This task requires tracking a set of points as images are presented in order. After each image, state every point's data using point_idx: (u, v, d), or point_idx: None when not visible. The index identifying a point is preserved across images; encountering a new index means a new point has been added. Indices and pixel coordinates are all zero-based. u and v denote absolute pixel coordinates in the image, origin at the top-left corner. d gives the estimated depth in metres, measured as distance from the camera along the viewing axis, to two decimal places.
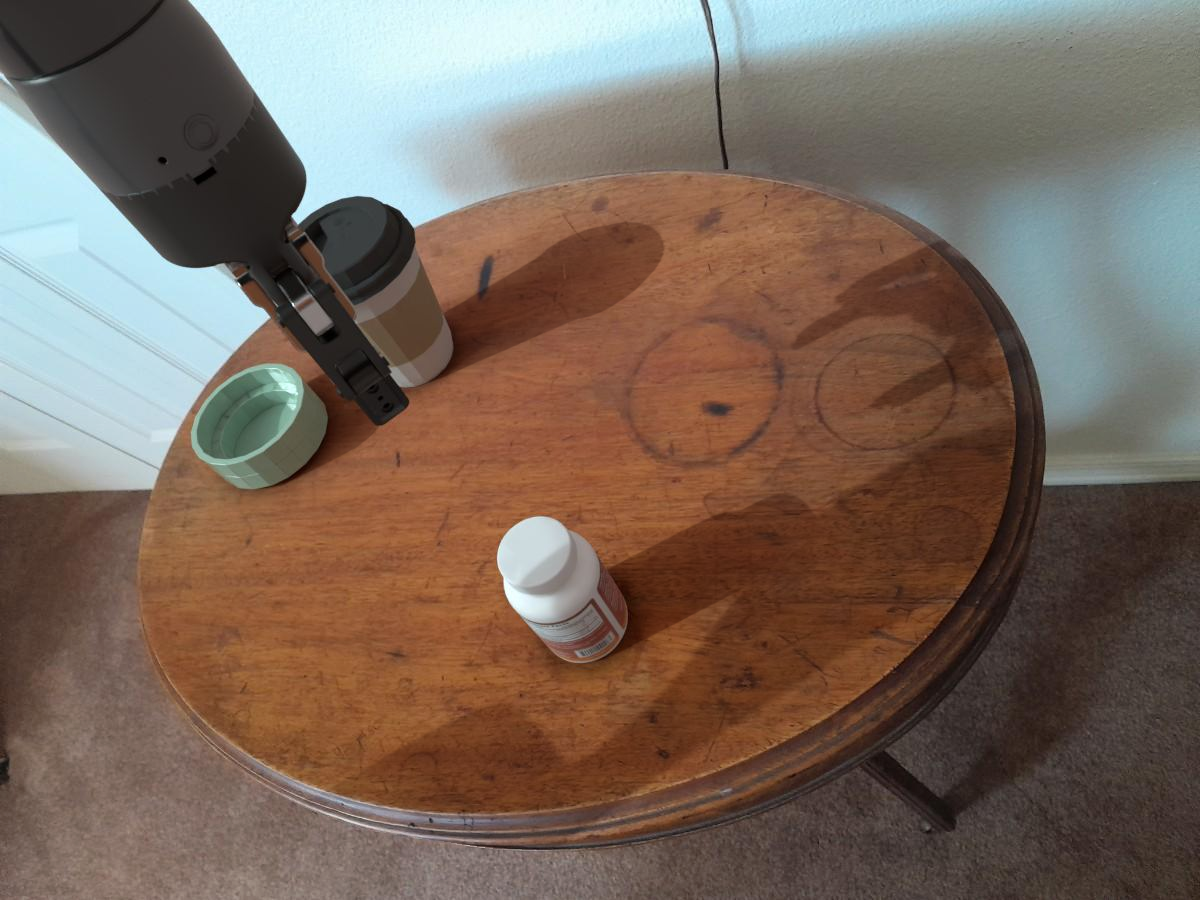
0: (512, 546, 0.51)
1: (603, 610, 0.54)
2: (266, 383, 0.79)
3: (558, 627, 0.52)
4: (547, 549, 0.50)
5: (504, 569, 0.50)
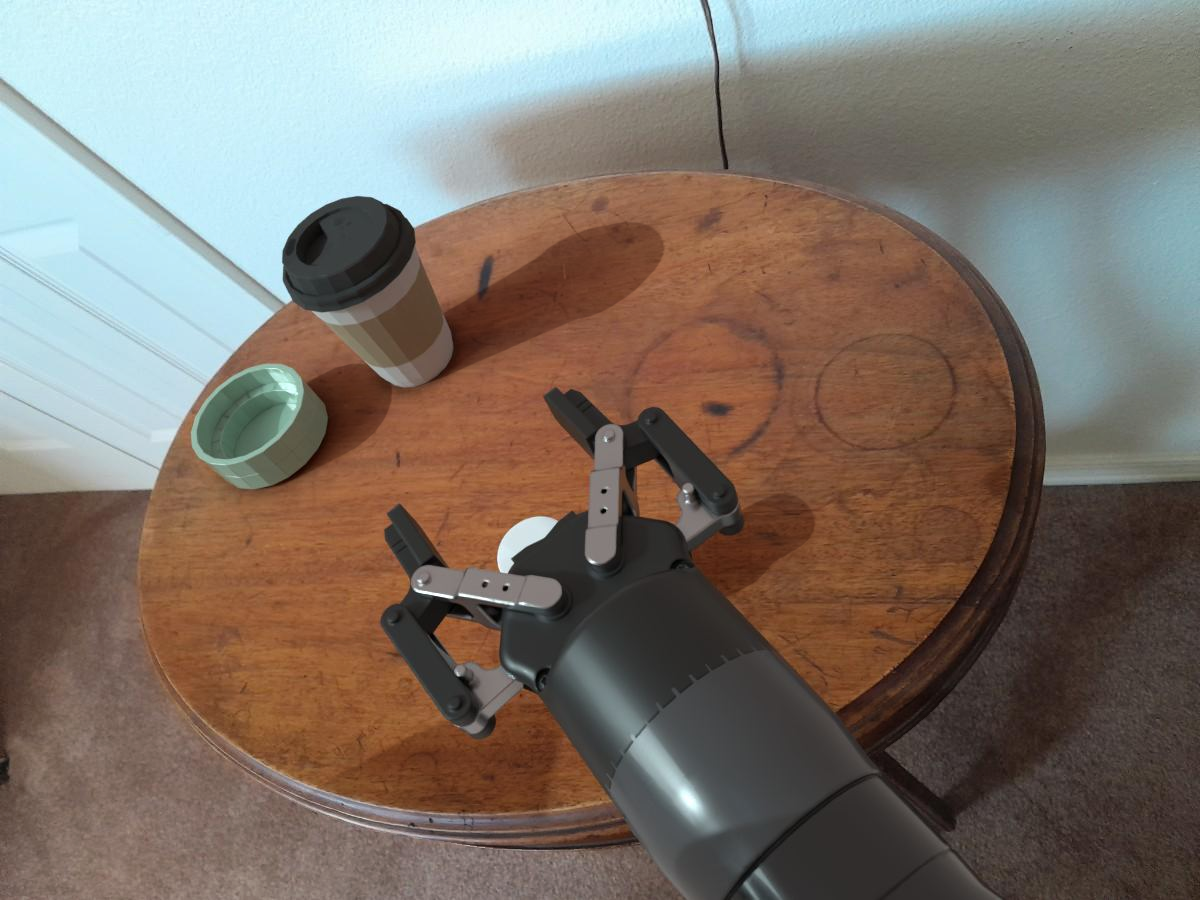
0: (512, 546, 0.51)
1: None
2: (266, 383, 0.79)
3: None
4: None
5: (504, 569, 0.50)
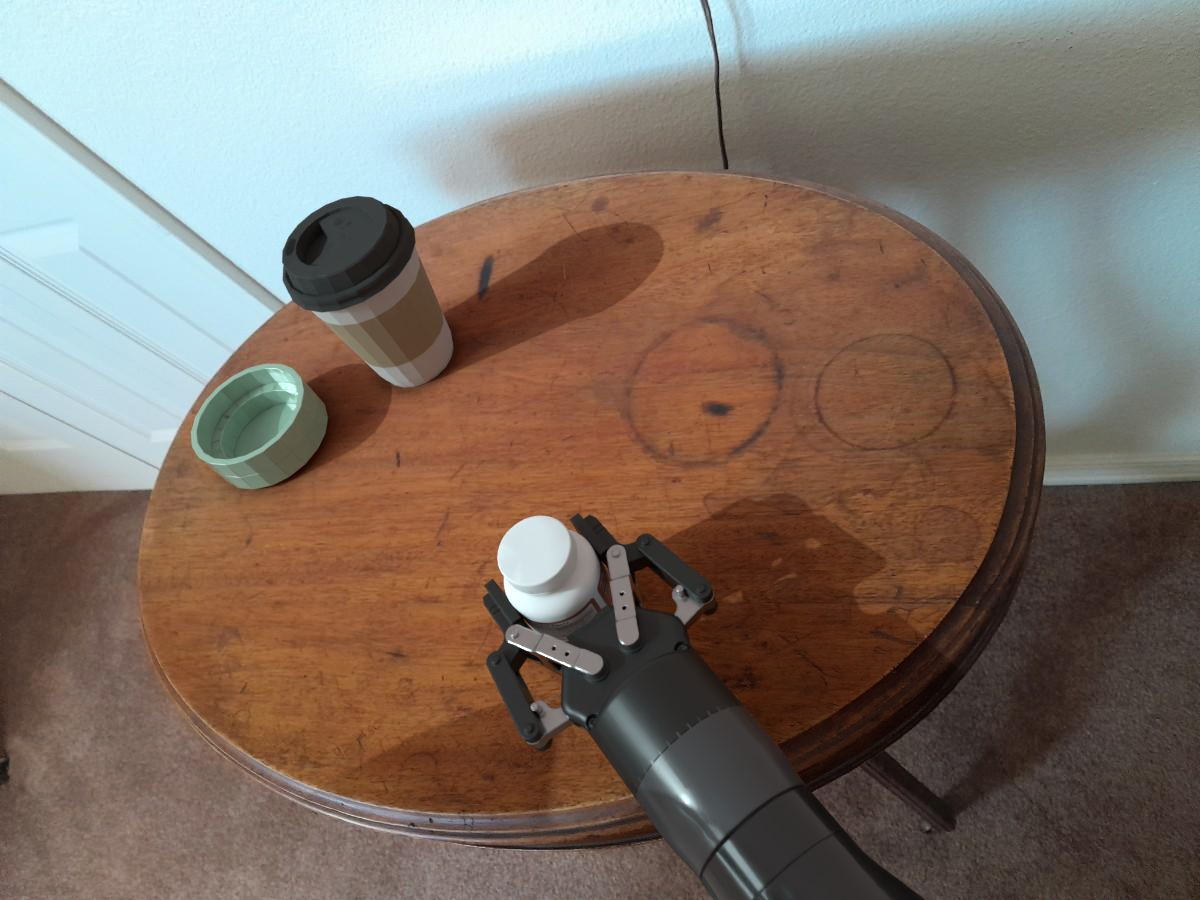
0: (512, 545, 0.51)
1: None
2: (266, 383, 0.79)
3: (558, 626, 0.52)
4: (547, 549, 0.50)
5: (504, 568, 0.50)
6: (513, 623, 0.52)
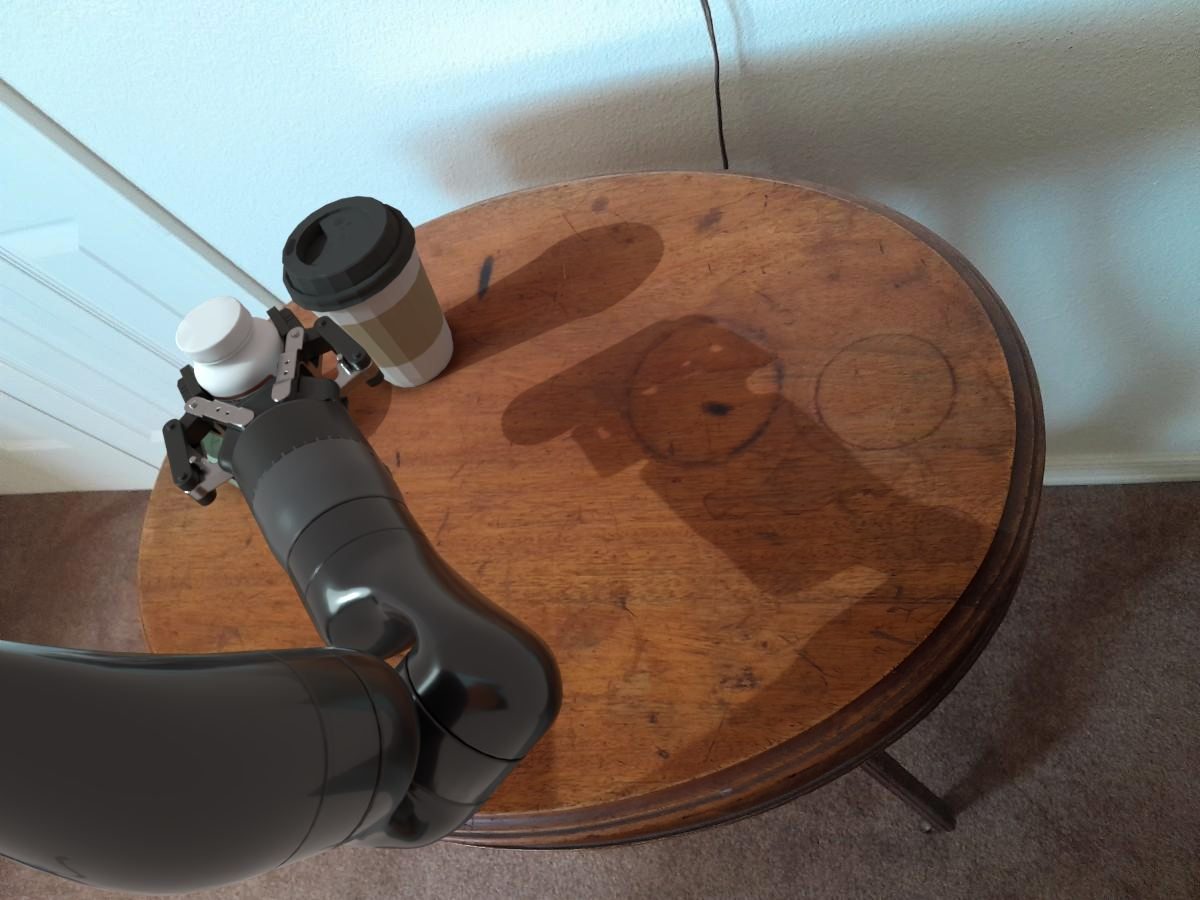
0: (191, 321, 0.54)
1: None
2: None
3: None
4: (219, 321, 0.54)
5: (180, 339, 0.54)
6: (195, 397, 0.55)
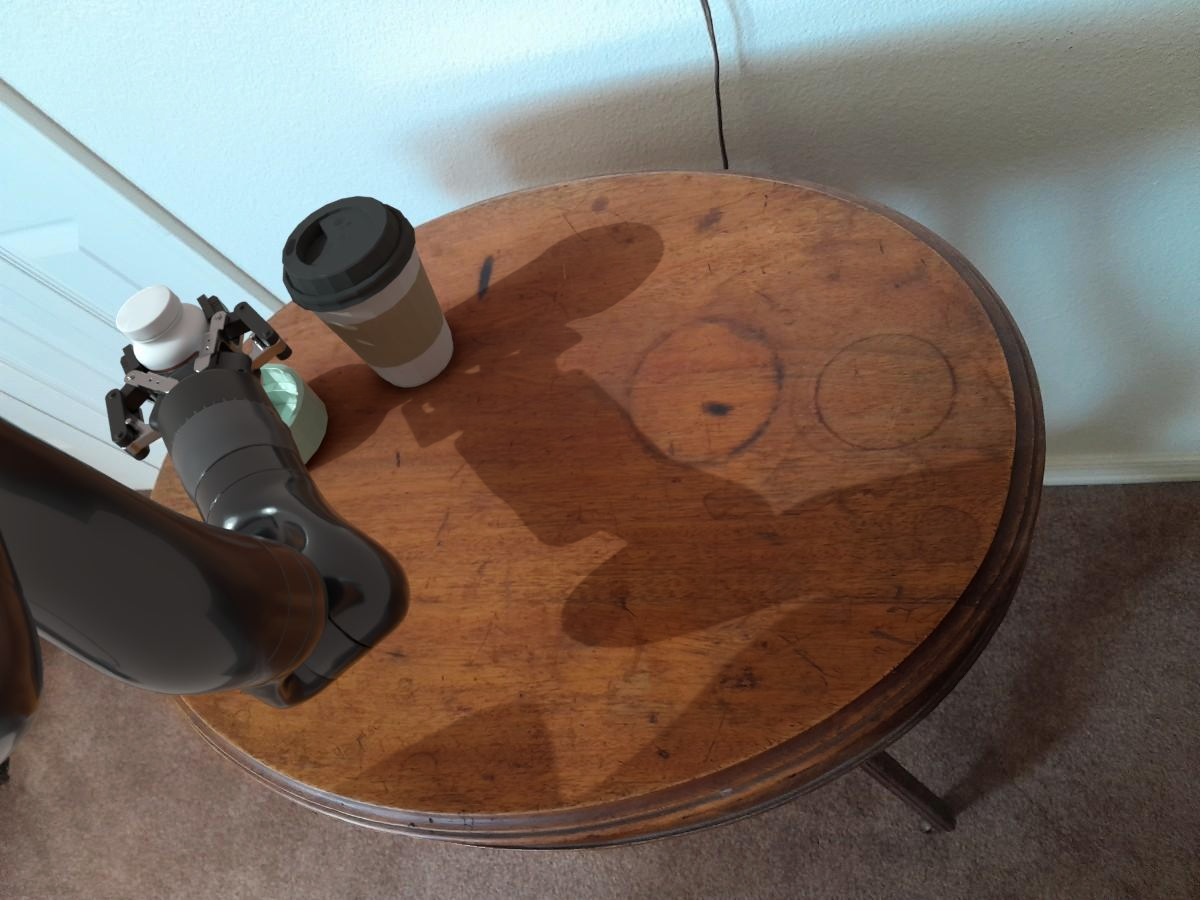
0: (129, 306, 0.65)
1: None
2: (266, 383, 0.79)
3: None
4: (151, 306, 0.64)
5: (119, 321, 0.64)
6: None
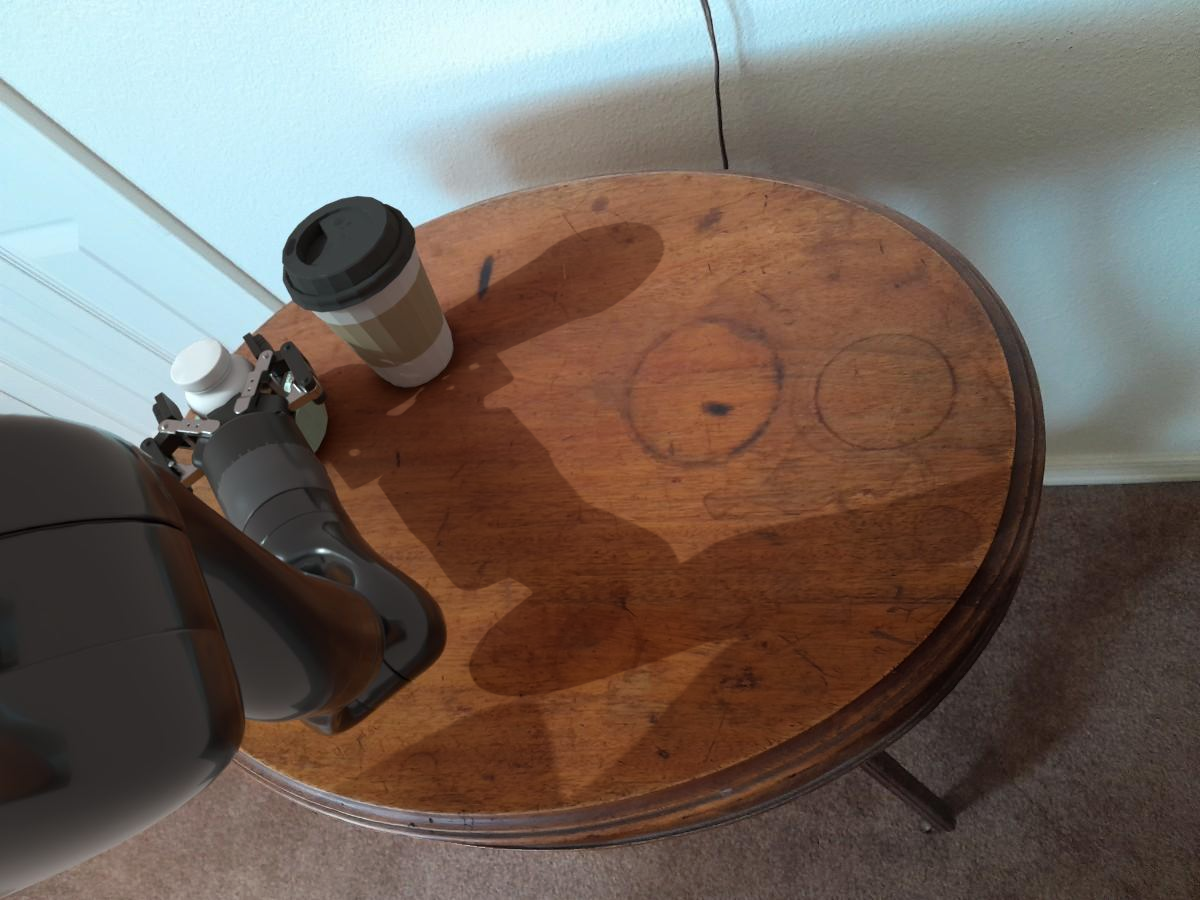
0: (183, 359, 0.69)
1: None
2: None
3: None
4: (204, 359, 0.69)
5: (174, 373, 0.69)
6: (166, 419, 0.69)
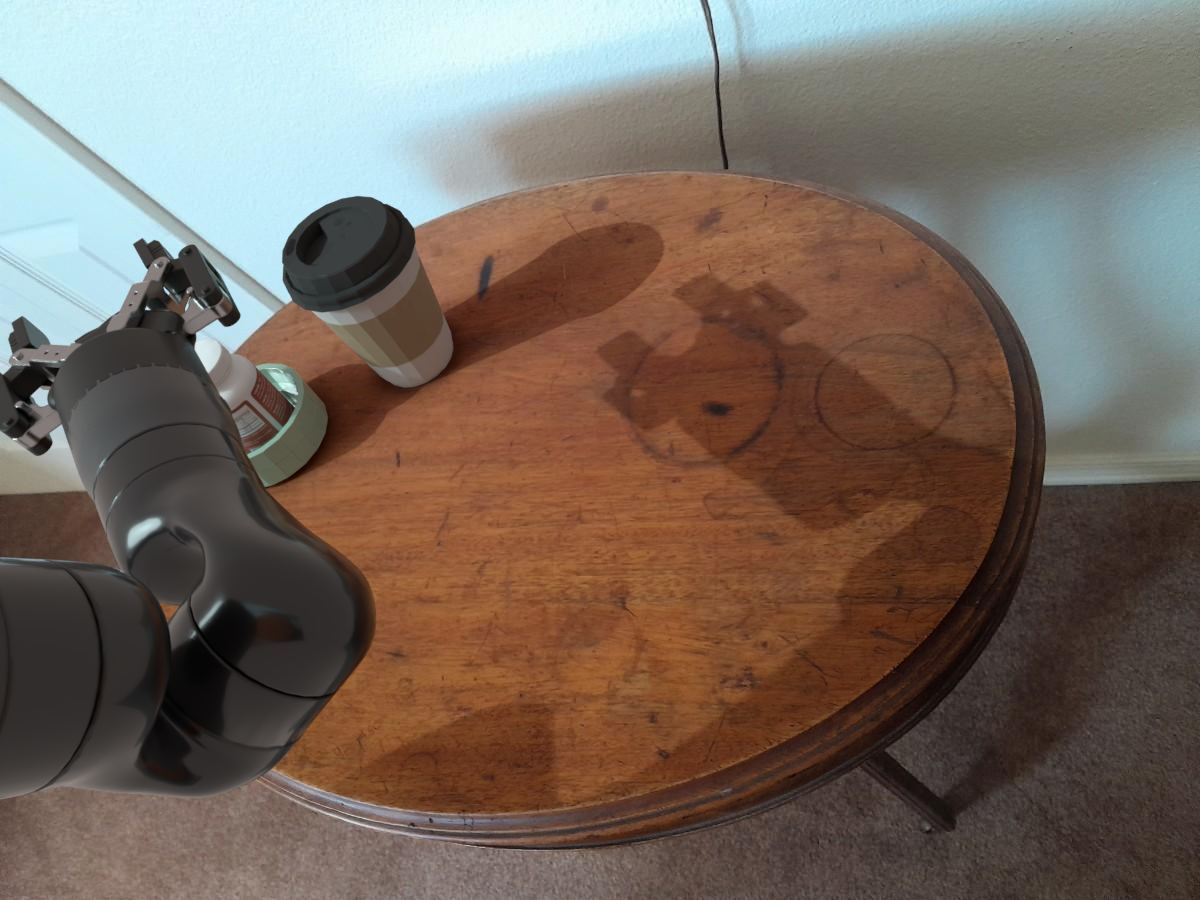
0: None
1: (263, 414, 0.72)
2: None
3: None
4: (204, 359, 0.69)
5: None
6: (22, 349, 0.51)
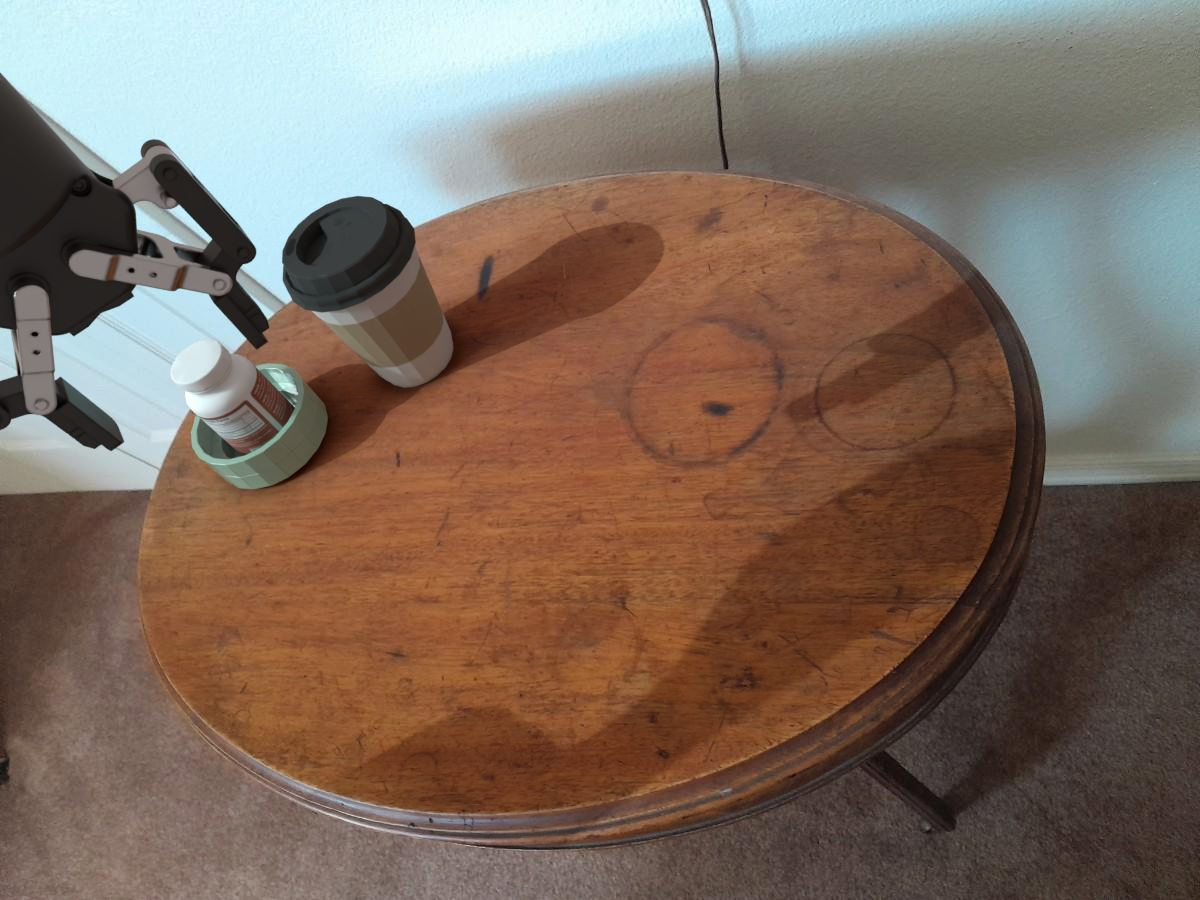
0: (183, 359, 0.69)
1: (263, 414, 0.72)
2: None
3: (222, 422, 0.71)
4: (204, 359, 0.69)
5: (174, 373, 0.69)
6: None
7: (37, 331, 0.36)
